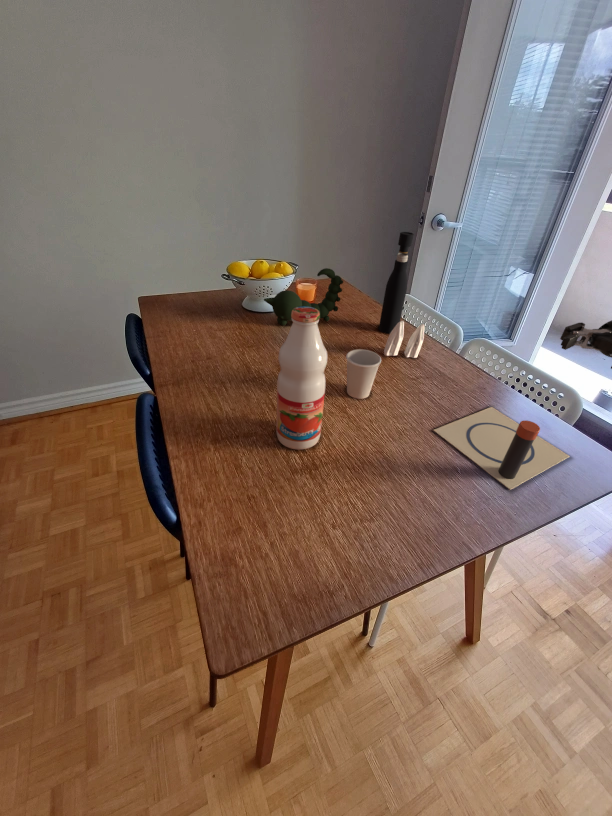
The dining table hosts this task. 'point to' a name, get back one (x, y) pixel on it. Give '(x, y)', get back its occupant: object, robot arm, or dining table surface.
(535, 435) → the marker
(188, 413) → the dining table surface
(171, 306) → the dining table surface
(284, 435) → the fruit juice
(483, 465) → the paper
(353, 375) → the dixie cup
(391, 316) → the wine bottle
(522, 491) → the dining table surface
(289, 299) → the toy figurine
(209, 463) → the dining table surface
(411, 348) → the shaker set
